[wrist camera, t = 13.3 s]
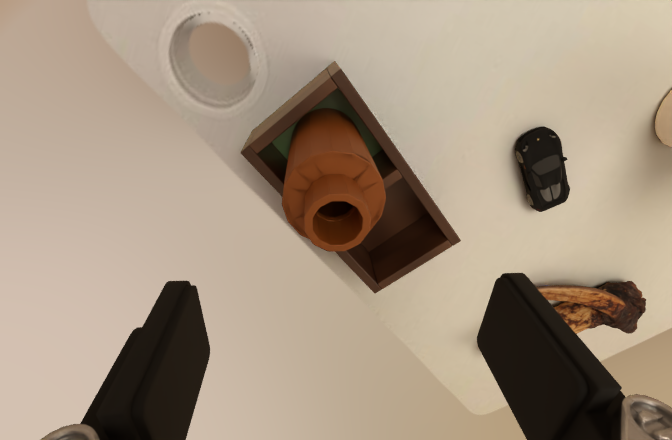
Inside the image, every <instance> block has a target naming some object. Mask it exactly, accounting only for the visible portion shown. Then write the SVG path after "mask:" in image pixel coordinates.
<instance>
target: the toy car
mask: <svg viewBox="0 0 672 440" xmlns="http://www.w3.org/2000/svg"><path fill="white" fill-rule="evenodd" d="M515 150H516V156H517V159H518V160H519V161H520V162H519V165H520V168H521V171H522V175H523V179H524V183H525V188H526V191H527V193H528V194H527V195H526V196H527V200H528V201H529V203H530V204H531V205H530V206H531V207H532V208H533V209H535V210H537V211H539V212H542V211H545V210H547V209H550V208H552V207H554V206H557V205H559V204H561V203H564V202H565V201H566V200H567V198H568V195H569V191H570V187H569V185H568V182H567V175H566V170H565V164H564V161H566V160H567V158H566V157H563V153H562V145H561V141H560V138H559V137H558V135H557V134H556V133H555V132H554V131H553V130H551V129H549V128H546V127H538V128H535V129H533V130H530V131H528V132H527V133H525V134H524V135H522V136H521V137H520V138H519V139H518V141H517V144H516V148H515Z"/></svg>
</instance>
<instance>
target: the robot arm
mask: <svg viewBox="0 0 672 440" xmlns="http://www.w3.org/2000/svg"><path fill="white" fill-rule="evenodd" d="M477 343H478V347H479V349H480V351H481V353H482V355H483V357H484V359H485V360H486V362H487V364H488V366H489V368H490V370H491V372H492V374H493V376H494V378H495V380H496V381H497V383H498V385H499V387H500V389H501V391H502V393H503V395H504V397H505V399H506V401H507V402H508V404H509V406H510V408H511V410H512V412H513V414H514V416H515V418H516V420H517V422H518V423H519V425H520V427H521V429H522V431H523V433H524V435H525V437H526V439H527V440H672V408H671V407H670V406H668V405H666V404H664V403H662V402H661V401H659V400H656V399H654V398H651V397H648V396H645V395H638V394H635V395H629V396H627V397H625V396H624V395H623V393H622V392H621V391H620V390H621V386H620V385H619V384H618V383H617V382H616V380H615V379H614V378H613V377H612V376H611V374H610V373H609V372H608V371H607V370H606V369H605V367H604V366H603V365H602V364H601V363H600V362H599V360H598V359H597V358H596V357H595V356H594V354H593V353H592V352H591V351H590V350H589V349H588V347H587V346H586V345H585V344H584V343H583V342H582V340H581V339H580V338H579V337H578V336H577V335H576V333H575V332H574V331H573V330H572V329H571V328H570V326H569V325H568V324H567V323H566V322H565V321H564V319H563V318H562V317H561V316H560V315H559V314H558V312H557V311H556V310H555V309H554V308H553V307H552V305H551V304H550V303H549V302H548V301H547V299H546V298H545V297H544V296H543V295H542V294H541V292H540V291H539V290H538V289H537V288H536V287H535V285H534V284H533V283H532V282H531V281H530V280H529V278H528V277H527V276H526V275H525V274H523V273H505V274H502V275H501V277H500V278H498V279H497V280H496V282H495V284H494V288H493V291H492V294H491V297H490V300H489V303H488V306H487V309H486V312H485V315H484V318H483V321H482V324H481V327H480V330H479V333H478V336H477ZM209 355H210V345H209V341H208V336H207V332H206V327H205V323H204V319H203V314H202V309H201V305H200V301H199V296H198V292H197V288H196V286H191V284H190V282H189V281H168V282H167V283H166V284H165V286H164V288H163V290H162V292H161V293H160V296H159V297H158V299H157V301H156V303H155V305H154V307H153V308H152V310H151V312H150V314H149V316H148V318H147V320H146V322H145V323H144V325H143V327H142V328H141V327H140V328H136V329H135V330H133V332H132V333H131V334H130V336H129V338H128V340H127V341H126V343H125V345H124V347H123V348H122V350H121V352H120V354H119V356H118V357H117V359H116V361H115V363H114V365H113V366H112V368H111V370H110V372H109V374H108V375H107V377H106V379H105V381H104V382H103V384H102V386H101V388H100V390H99V392H98V393H97V395H96V397H95V398H94V400H93V402H92V404H91V406H90V407H89V409H88V411H87V413H86V415H85V416H84V418H83V420H82V422H81V423H80V424H73V425H69V426H65V427H62V428H59V429H57V430H55V431H53V432H51V433H49V434H48V435H46V436H45V437H44V438H42V439H41V440H186V436H187V433H188V429H189V426H190V423H191V419H192V416H193V412H194V409H195V405H196V402H197V398H198V394H199V391H200V388H201V384H202V381H203V377H204V374H205V371H206V367H207V364H208V360H209Z"/></svg>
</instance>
